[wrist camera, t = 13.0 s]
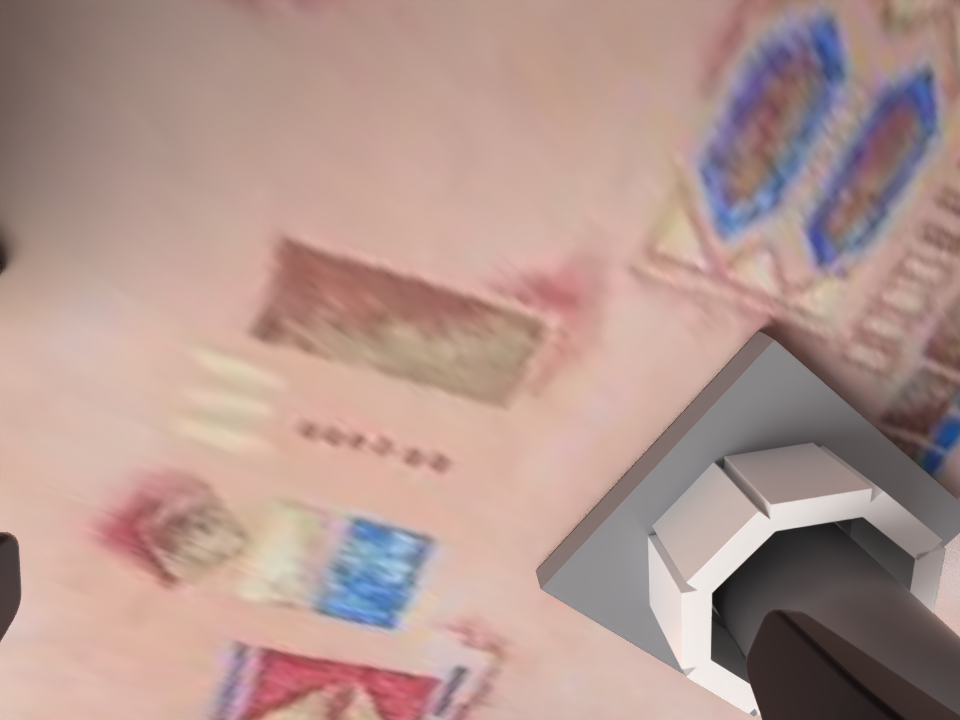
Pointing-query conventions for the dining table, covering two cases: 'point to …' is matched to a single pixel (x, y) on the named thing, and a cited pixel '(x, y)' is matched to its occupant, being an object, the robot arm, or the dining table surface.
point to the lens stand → (744, 512)
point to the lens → (843, 605)
